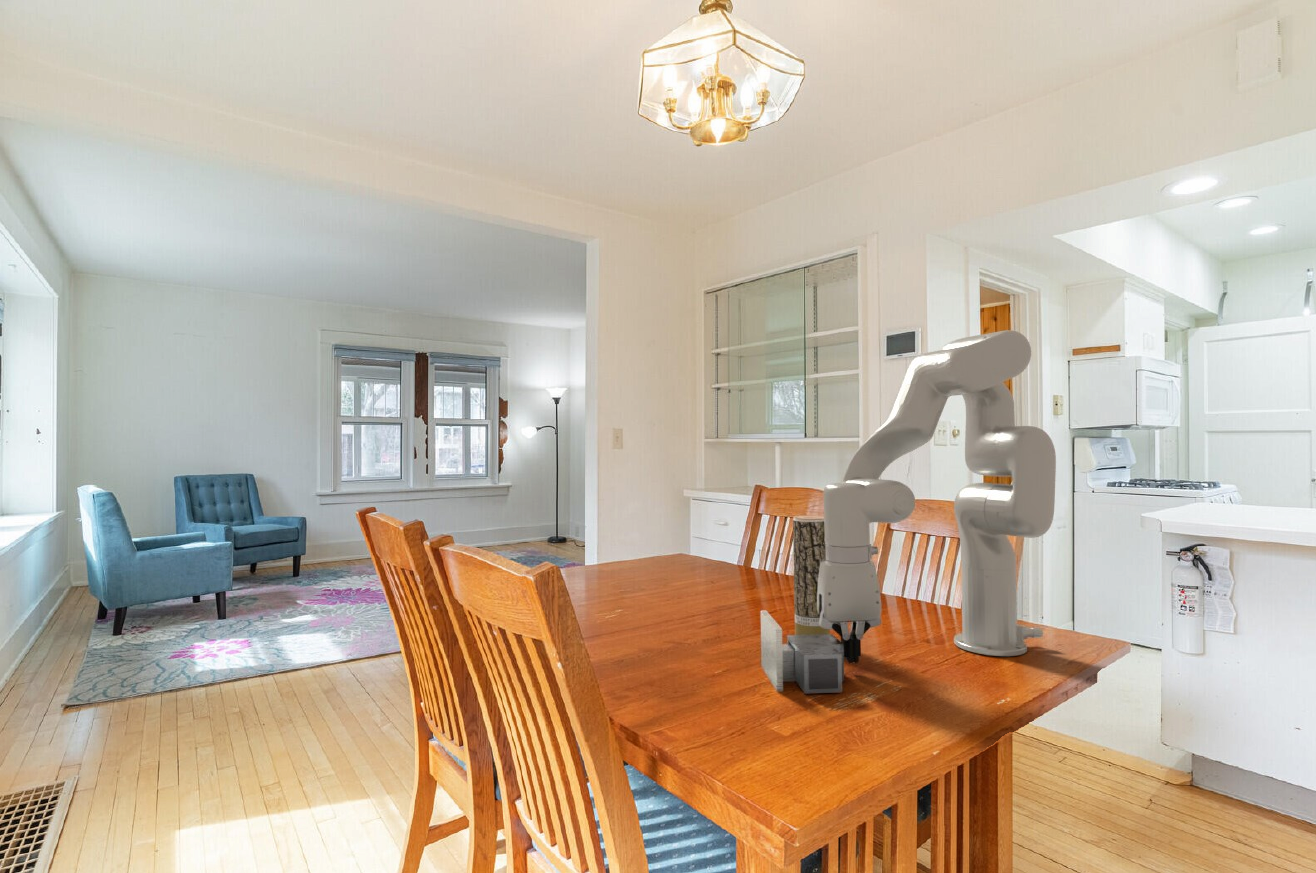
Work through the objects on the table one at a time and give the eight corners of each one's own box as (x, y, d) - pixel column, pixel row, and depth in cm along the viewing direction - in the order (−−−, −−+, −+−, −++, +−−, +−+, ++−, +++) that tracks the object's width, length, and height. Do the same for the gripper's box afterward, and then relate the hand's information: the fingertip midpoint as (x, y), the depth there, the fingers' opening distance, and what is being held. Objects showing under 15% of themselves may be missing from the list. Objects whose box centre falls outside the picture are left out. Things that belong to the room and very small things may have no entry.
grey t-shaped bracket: (823, 664, 118) (822, 608, 118) (845, 689, 106) (844, 627, 106) (761, 666, 117) (760, 610, 117) (776, 691, 105) (775, 629, 105)
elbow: (832, 668, 115) (832, 634, 115) (855, 692, 104) (854, 654, 104) (787, 669, 114) (787, 635, 114) (805, 693, 103) (804, 655, 103)
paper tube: (831, 648, 127) (828, 519, 127) (795, 646, 128) (793, 519, 129) (829, 638, 133) (826, 515, 134) (795, 636, 135) (792, 515, 135)
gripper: (881, 549, 117) (884, 651, 117) (799, 552, 116) (802, 655, 116) (898, 556, 110) (902, 665, 110) (811, 560, 109) (815, 670, 109)
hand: (851, 660), depth 113 cm, fingers closed
